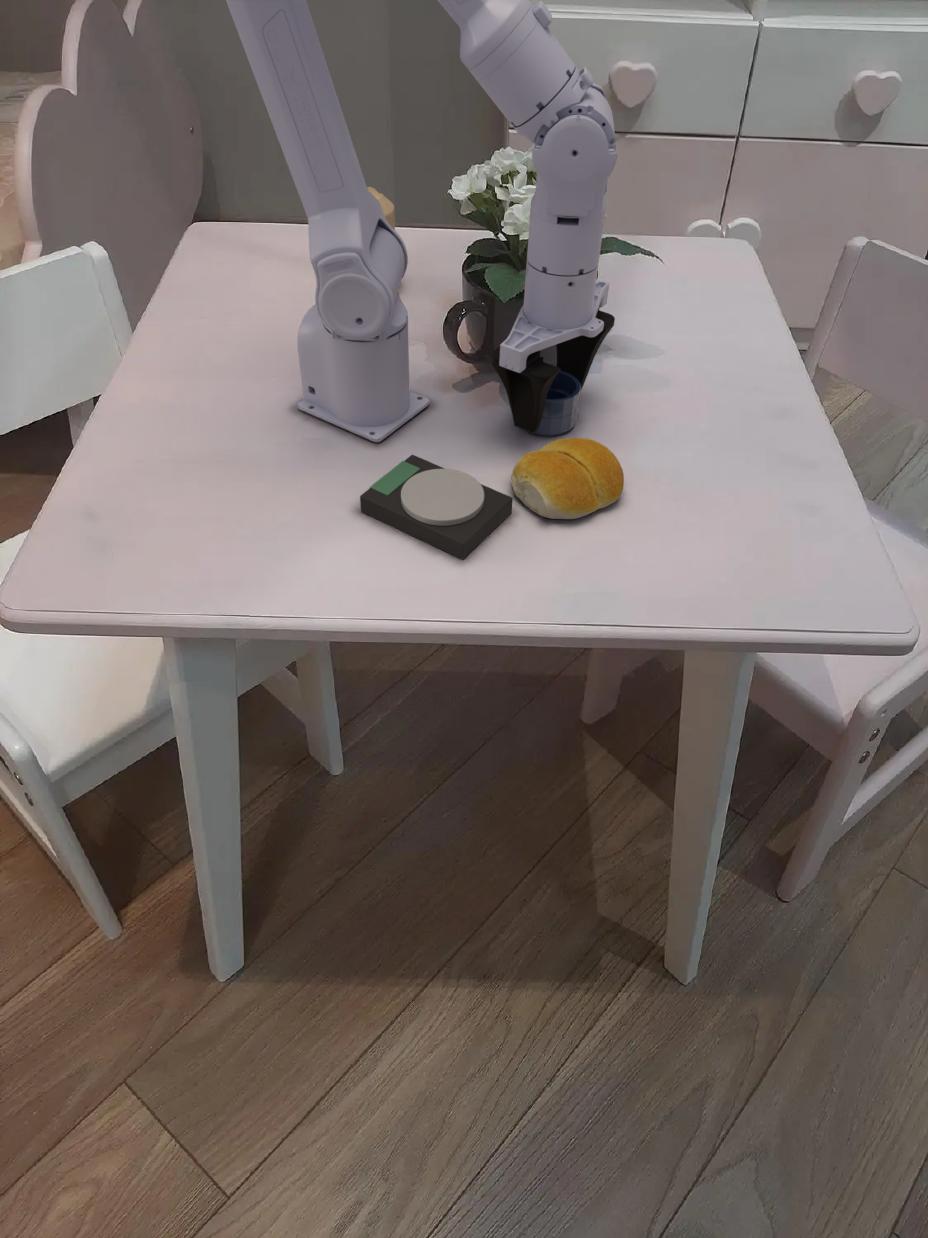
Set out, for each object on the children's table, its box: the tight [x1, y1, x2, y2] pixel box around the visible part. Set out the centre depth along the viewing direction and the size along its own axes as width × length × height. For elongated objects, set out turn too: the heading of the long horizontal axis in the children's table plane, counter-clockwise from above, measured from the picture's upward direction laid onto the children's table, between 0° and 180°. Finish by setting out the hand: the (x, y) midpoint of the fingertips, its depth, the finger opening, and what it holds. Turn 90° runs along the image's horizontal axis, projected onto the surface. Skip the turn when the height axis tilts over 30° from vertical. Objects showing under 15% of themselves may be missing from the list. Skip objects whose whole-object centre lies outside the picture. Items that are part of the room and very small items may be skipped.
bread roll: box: [510, 437, 625, 520], centre depth 77 cm, size 8×9×4 cm
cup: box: [533, 370, 582, 437], centre depth 84 cm, size 5×5×4 cm
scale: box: [359, 454, 514, 560], centre depth 75 cm, size 10×7×2 cm
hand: (548, 407), depth 84 cm, fingers open, 7 cm apart
